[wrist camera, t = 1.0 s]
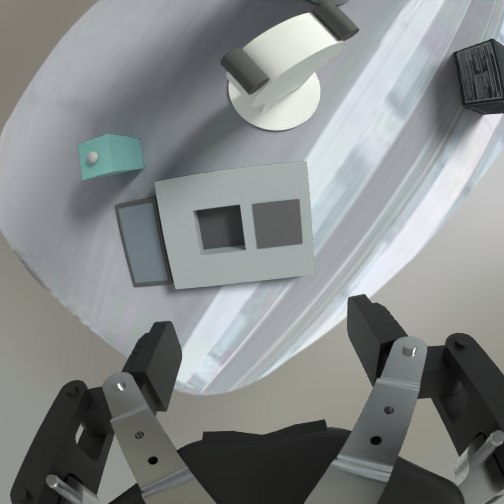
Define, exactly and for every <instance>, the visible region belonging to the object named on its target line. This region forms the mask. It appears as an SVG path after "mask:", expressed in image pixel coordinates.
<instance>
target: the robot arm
mask: <svg viewBox="0 0 504 504" xmlns="http://www.w3.org/2000/svg"><path fill="white" fill-rule="evenodd" d="M309 1H311V2H314V3H317V4H321V3H323V2H326V1H332V2H333V3H334V4H335V5H341V4H343V3H345V2H347V1H348V0H309ZM347 330H348V336H349V339H350V341H351V343H352V345H353V347H354V349H355V351H356V353H357V355H358V357H359V359H360V361H361V363H362V365H363V367H364V369H365V371H366V373H367V375H368V378H369V380H370V382H371V384H372V386H373V389H372V391H371V394H370V396H369V398H368V401H367V402H366V404H365V407H364V408H363V411H362V413H361V415H360V417H359V419H358V421H357V423H356V424H355V426H354V428H353V430H352V431H349V430H346V429H341V428H334V427H327V426H326V422H325V419H324V420H319V421H313V422H308V423H302V424H295V425H292V426H289V427H287V428H284V429H281V430H278V431H275V432H272V433H268V434H264V435H259V434H251V433H243V432H236V431H217V432H203V438H202V440H200V441H196V442H193V443H190V444H188V445H185V446H184V447H182V448H180V449H179V450H177V449H176V448H175V446H174V445H173V443H172V442H171V440H170V439H169V437H168V435H167V434H166V433H165V431H164V430H163V428H162V426H161V425H160V423H159V421H158V420H157V418H156V413H157V411H167V409H168V405H169V402H170V398H171V394H172V391H173V388H174V384H175V381H176V378H177V374H178V371H179V368H180V364H181V361H182V350H181V346H180V344H179V341H178V338H177V335H176V332H175V329H174V326H173V324H172V322H171V321H163V322H155V323H154V324H153V326H152V328H151V330H150V332H149V333H145V334H144V335H143V336H142V337H141V338H140V339H139V340H138V342H137V343H136V345H135V348H134V349H133V351H132V354H131V355H130V356H129V358H128V360H127V362H126V364H125V366H124V368H123V370H122V372H119V373H115V374H113V375H111V376H109V377H108V378H107V379H106V380H105V381H104V383H103V386H102V387H98V388H92V389H88V388H87V386H86V384H85V383H84V382H83V381H80V380H74V381H71V382H69V383H67V384H66V385H64V386H63V387H62V389H61V390H60V392H59V394H58V396H57V397H56V399H55V401H54V402H53V404H52V406H51V408H50V410H49V411H48V413H47V415H46V417H45V419H44V421H43V423H42V424H41V426H40V428H39V430H38V432H37V434H36V436H35V438H34V440H33V442H32V444H31V446H30V448H29V450H28V453H27V454H26V457H25V459H24V461H23V463H22V465H21V468H20V470H19V472H18V474H17V477H16V479H15V482H14V484H13V487H12V489H11V493H10V497H11V502H12V504H100V501H99V499H98V497H97V492H98V488H99V484H100V481H101V477H102V474H103V470H104V467H105V463H106V460H107V456H108V453H109V450H110V447H111V444H112V441H113V437H114V434H115V435H116V438H117V440H118V442H119V445H120V447H121V449H122V452H123V454H124V456H125V458H126V461H127V463H128V465H129V467H130V469H131V471H132V473H133V475H134V477H135V479H136V481H137V483H136V484H135V485H133V486H132V487H131V488H129V489H128V490H127V491H125V492H124V493H123V494H121V495H120V496H118V497H117V498H116V499H114V500H113V501H111V502H110V503H109V504H491V503H494V502H495V501H497V500H498V499H499V498H500V497H502V496H503V495H504V375H503V374H502V373H501V371H500V370H499V368H498V367H497V366H496V365H495V363H494V362H493V361H492V360H491V359H490V357H489V356H488V355H487V354H486V352H485V351H484V350H483V349H482V348H481V347H480V346H479V344H478V343H477V342H476V341H475V340H474V339H473V338H472V337H471V336H469V335H467V334H464V333H455V334H452V335H450V336H449V337H448V338H447V339H446V342H445V345H443V346H429V347H428V346H427V345H426V344H425V342H424V341H422V340H421V339H419V338H416V337H411V336H408V335H407V334H406V332H405V331H404V330H403V329H402V327H401V326H400V325H399V324H398V322H397V321H396V320H395V319H394V317H393V316H392V315H391V314H390V312H389V311H388V310H387V309H386V308H385V307H384V306H382V305H381V304H379V303H371V301H370V300H369V299H368V297H367V296H366V295H365V294H362V295H357V296H352V297H349V298H348V309H347ZM422 398H431V399H432V401H433V403H434V405H435V407H436V409H437V411H438V413H439V414H440V417H441V419H442V421H443V423H444V424H445V427H446V429H447V431H448V433H449V435H450V437H451V439H452V442H453V444H454V446H455V448H456V450H457V453H458V455H459V459H458V460H457V462H456V464H455V469H454V470H455V477H456V478H455V479H456V481H455V484H454V483H453V482H451V481H450V480H448V479H446V478H444V477H441V476H439V475H437V474H434V473H432V472H430V471H428V470H425V469H424V468H422V467H419V466H417V465H415V464H413V463H411V462H409V461H407V460H405V459H403V458H401V457H399V456H398V455H399V452H400V450H401V447H402V444H403V441H404V439H405V436H406V433H407V430H408V427H409V424H410V421H411V418H412V415H413V412H414V408H415V405H416V401H417V399H422ZM80 424H81V426H82V427H83V428H84V429H83V432H82V434H81V436H80V439H79V441H78V444H77V443H76V440H75V436H76V433H77V430H78V428H79V426H80Z"/></svg>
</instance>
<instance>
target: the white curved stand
mask: <svg viewBox="0 0 504 504" xmlns="http://www.w3.org/2000/svg"><path fill="white" fill-rule="evenodd" d="M358 31H359V29H358V27H357V26H356V25H355V24H354V23H353V22H352V21H351V20H350V19H349V18H348V17H347V16H346V15H345V14H344V13H343V12H342V11H341V10H340V9H339V8H338V7H337V6H336V5H335V4H334V3H333V2H332V1H326V2H323V3H321V4H320V5H319V6H317V7H316V8H315V9H314V10H313V13H305V14H301V15H298V16H296V17H293V18H291V19H288V20H286V21H284V22H282V23H280V24H278V25H276V26H274V27H272V28H271V29H269V30H267V31H266V32H264V33H262V34H261V35H259V36H258V37H256V38H255V39H254V40H252V41H251V42H250V43H248V44H247V45H246V46H245V47H244V48H243V49H241V48H240V47H238V48H235V49H233V50H231V51H230V52H228V53H227V54H226V55H225V56H224V57H223V58H222V60H221V65H222V66H223V67H224V68H225V69H226V70H227V74H226V77H227V79H228V80H229V95H230V99H231V102H232V104H233V106H234V108H235V110H236V111H237V112H238V114H239V115H240V116H241V117H242V118H244V119H245V120H246V121H247V122H249V123H251V124H252V125H254V126H257V127H259V128H262V129H266V130H287V129H291V128H294V127H296V126H298V125H300V124H302V123H303V122H305V121H306V120H307V119H308V118H309V117H310V116H311V115H312V114H313V113H314V111H315V109H316V108H317V105H318V103H319V99H320V84H319V81H318V78H317V75H316V73H315V71H316V70H318V69H319V68H321V67H322V66H323V65H325V64H326V63H327V62H329V61H330V60H331V59H333V58H334V57H335V56H336V55H338V54H339V53H340V52H341V51H342V50H343V49H344V47H345V43H344V42H343V41H345V40H347V39H349V38H351V37H352V36H354V35H355V34H356V33H357V32H358Z"/></svg>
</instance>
